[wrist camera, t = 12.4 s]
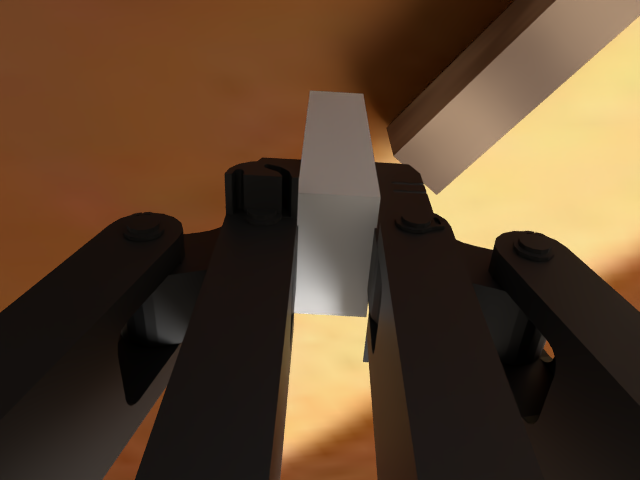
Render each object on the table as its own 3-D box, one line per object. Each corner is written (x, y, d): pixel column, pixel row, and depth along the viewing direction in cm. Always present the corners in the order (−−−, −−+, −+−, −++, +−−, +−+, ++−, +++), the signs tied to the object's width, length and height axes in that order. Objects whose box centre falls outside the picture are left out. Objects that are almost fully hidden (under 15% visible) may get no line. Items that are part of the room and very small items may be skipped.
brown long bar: (700, -192, 21) (766, -209, 18) (742, -123, 22) (812, -128, 19) (383, 124, 27) (390, 153, 24) (427, 165, 28) (439, 198, 25)
